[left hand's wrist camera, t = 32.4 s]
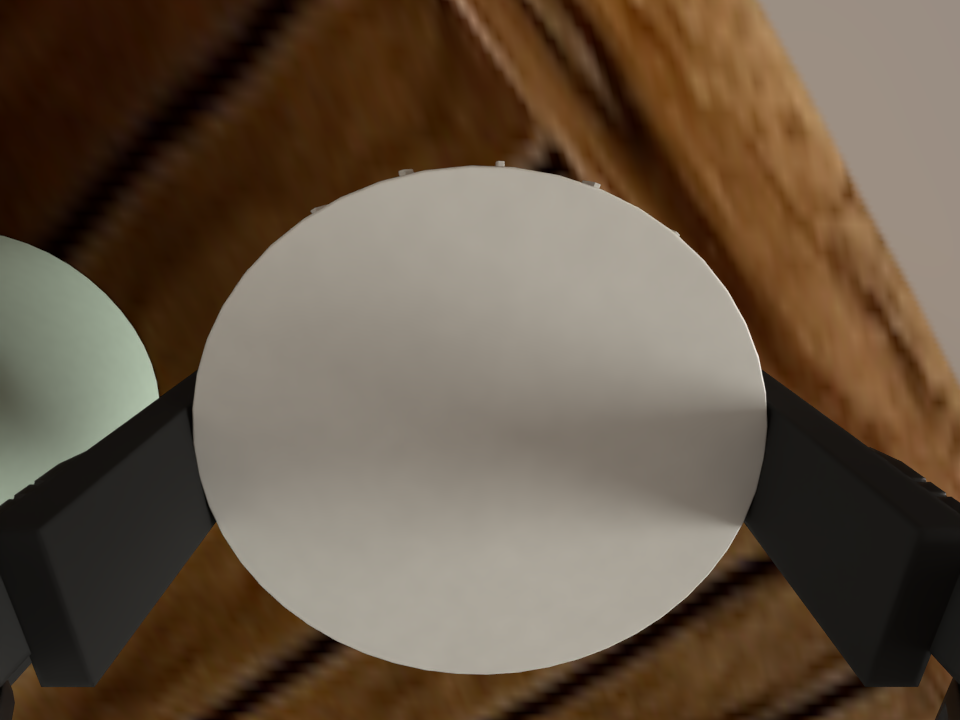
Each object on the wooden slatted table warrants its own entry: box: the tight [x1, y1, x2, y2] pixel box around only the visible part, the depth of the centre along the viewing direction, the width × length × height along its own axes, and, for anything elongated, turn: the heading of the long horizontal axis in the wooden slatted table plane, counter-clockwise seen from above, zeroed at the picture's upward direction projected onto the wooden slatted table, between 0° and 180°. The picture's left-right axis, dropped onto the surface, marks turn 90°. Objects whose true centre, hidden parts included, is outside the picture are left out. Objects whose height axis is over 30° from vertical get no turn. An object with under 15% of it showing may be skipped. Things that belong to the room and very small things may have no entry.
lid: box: [192, 161, 767, 674], centre depth 11 cm, size 11×11×2 cm
